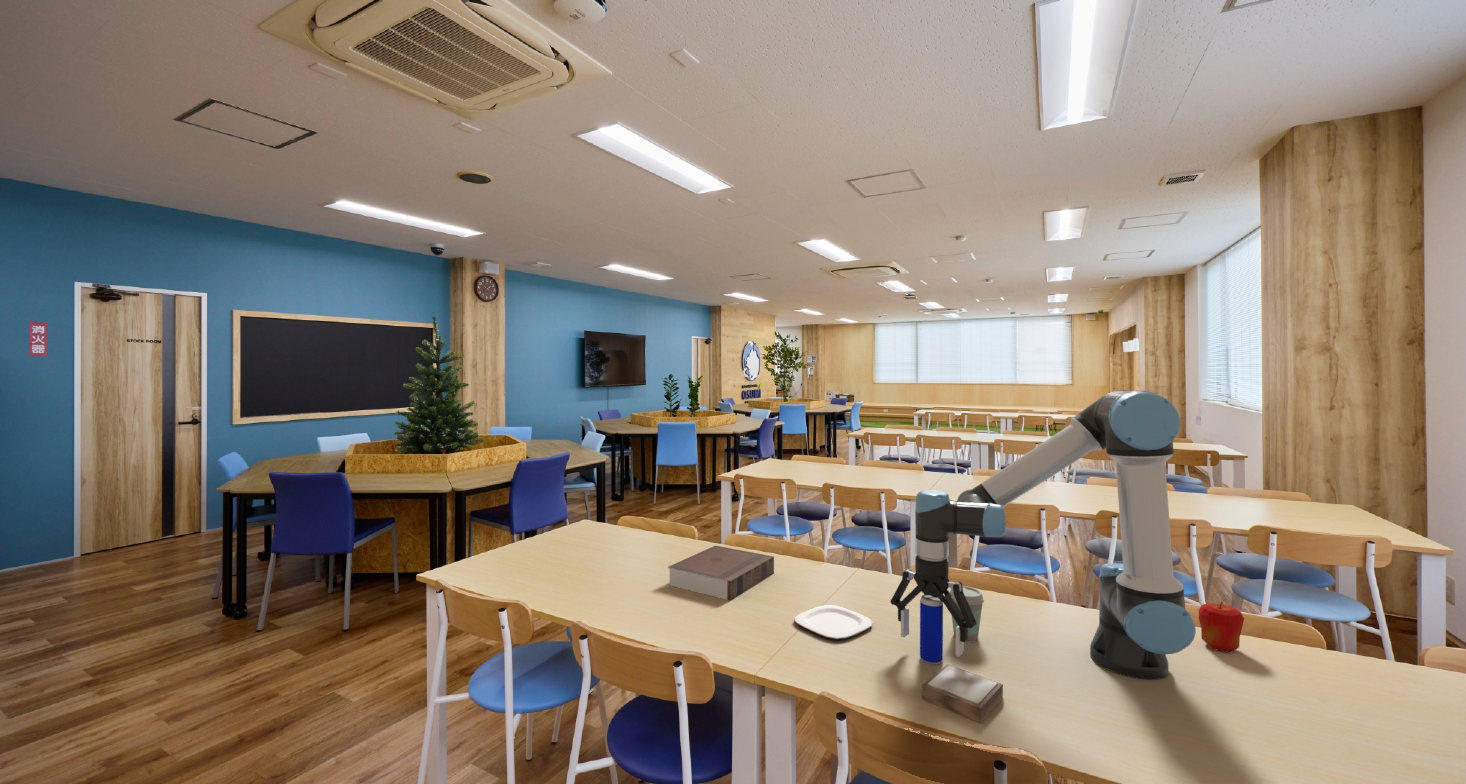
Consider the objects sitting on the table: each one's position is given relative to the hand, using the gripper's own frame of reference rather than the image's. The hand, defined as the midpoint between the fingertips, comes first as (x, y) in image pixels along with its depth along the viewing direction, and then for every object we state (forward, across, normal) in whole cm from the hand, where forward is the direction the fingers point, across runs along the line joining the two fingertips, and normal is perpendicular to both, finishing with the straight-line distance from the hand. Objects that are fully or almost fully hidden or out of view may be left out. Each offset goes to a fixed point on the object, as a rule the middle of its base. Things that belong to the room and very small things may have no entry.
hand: (931, 644), depth 134 cm
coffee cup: (+4, -1, -18) cm, 18 cm away
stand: (+4, -12, +11) cm, 17 cm away
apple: (+4, -49, -56) cm, 75 cm away
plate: (+4, +28, 0) cm, 28 cm away
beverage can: (+4, 0, 0) cm, 4 cm away
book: (+4, +75, -3) cm, 75 cm away
